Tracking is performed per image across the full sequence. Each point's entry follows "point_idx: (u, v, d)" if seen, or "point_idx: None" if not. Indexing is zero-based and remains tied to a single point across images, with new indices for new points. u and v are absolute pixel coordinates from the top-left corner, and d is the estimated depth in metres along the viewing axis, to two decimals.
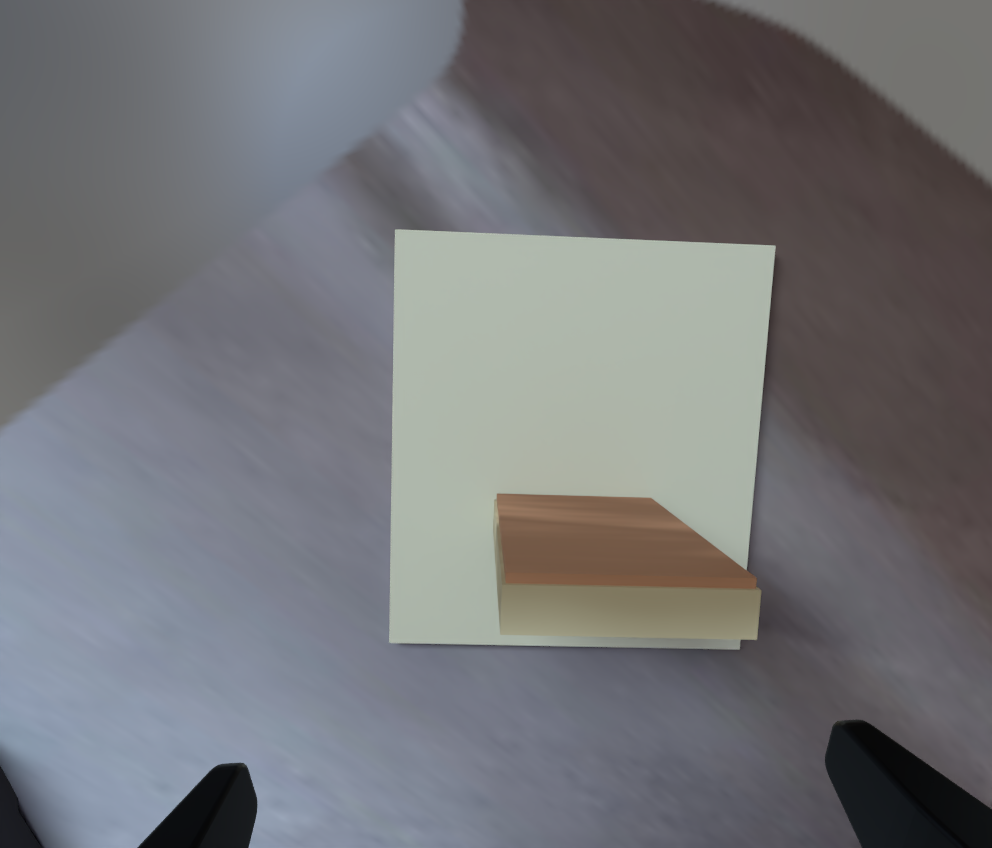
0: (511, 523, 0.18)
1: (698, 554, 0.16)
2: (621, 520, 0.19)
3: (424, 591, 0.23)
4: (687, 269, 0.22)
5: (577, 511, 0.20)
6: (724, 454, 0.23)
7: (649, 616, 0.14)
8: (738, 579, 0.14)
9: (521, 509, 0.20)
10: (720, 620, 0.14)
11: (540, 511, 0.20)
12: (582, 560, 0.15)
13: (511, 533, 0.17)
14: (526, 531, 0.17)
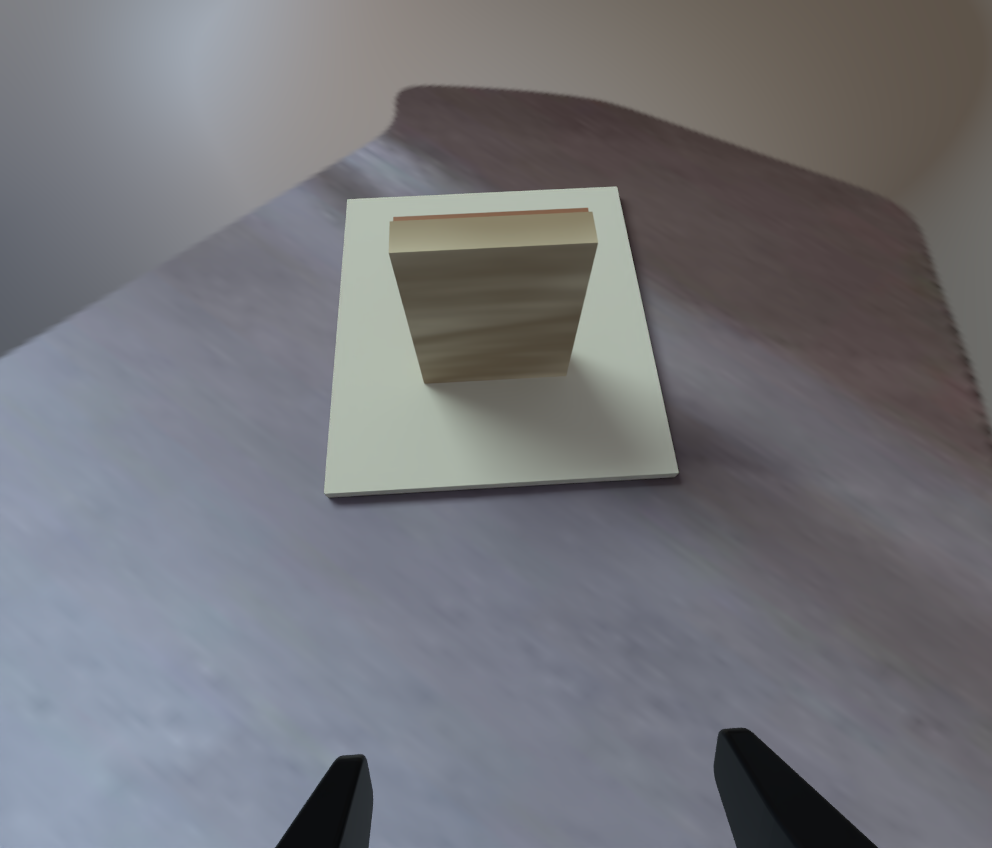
0: None
1: None
2: None
3: (360, 441, 0.24)
4: (557, 203, 0.30)
5: None
6: (616, 311, 0.27)
7: (507, 233, 0.17)
8: (574, 210, 0.18)
9: None
10: (565, 232, 0.17)
11: None
12: None
13: None
14: None
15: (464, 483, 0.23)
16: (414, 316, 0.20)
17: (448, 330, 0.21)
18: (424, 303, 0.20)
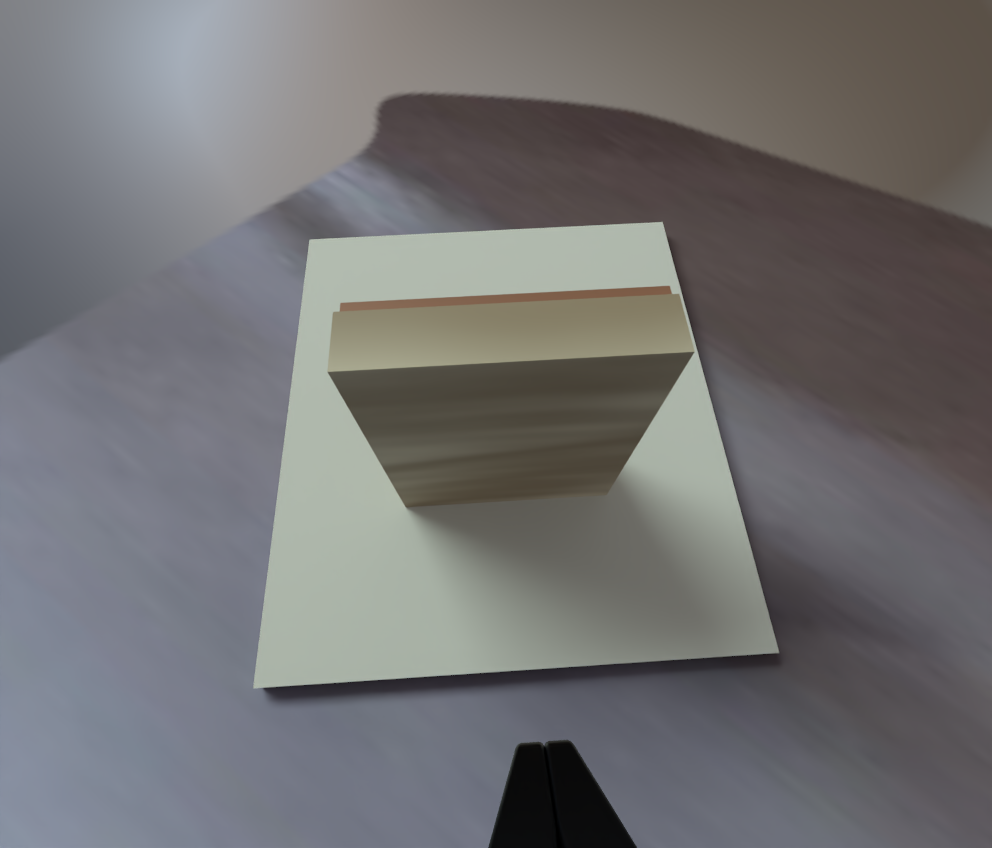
0: None
1: None
2: None
3: (311, 599, 0.17)
4: (585, 244, 0.23)
5: None
6: (671, 396, 0.20)
7: (535, 333, 0.10)
8: (647, 290, 0.11)
9: None
10: (635, 331, 0.10)
11: None
12: None
13: None
14: None
15: (462, 671, 0.16)
16: (382, 444, 0.13)
17: (438, 458, 0.14)
18: (397, 429, 0.12)
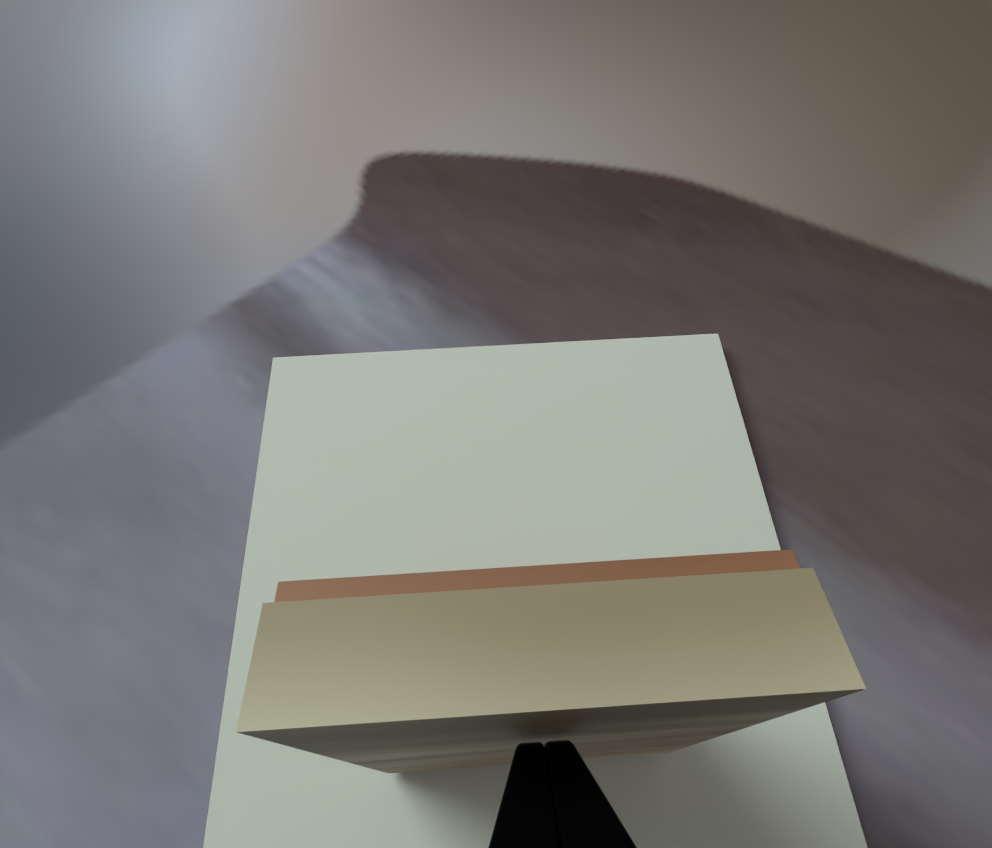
0: None
1: None
2: None
3: None
4: (621, 365, 0.18)
5: None
6: None
7: (590, 648, 0.06)
8: (757, 556, 0.07)
9: None
10: (756, 644, 0.06)
11: None
12: None
13: None
14: None
15: None
16: (345, 755, 0.08)
17: (432, 755, 0.09)
18: (367, 748, 0.08)
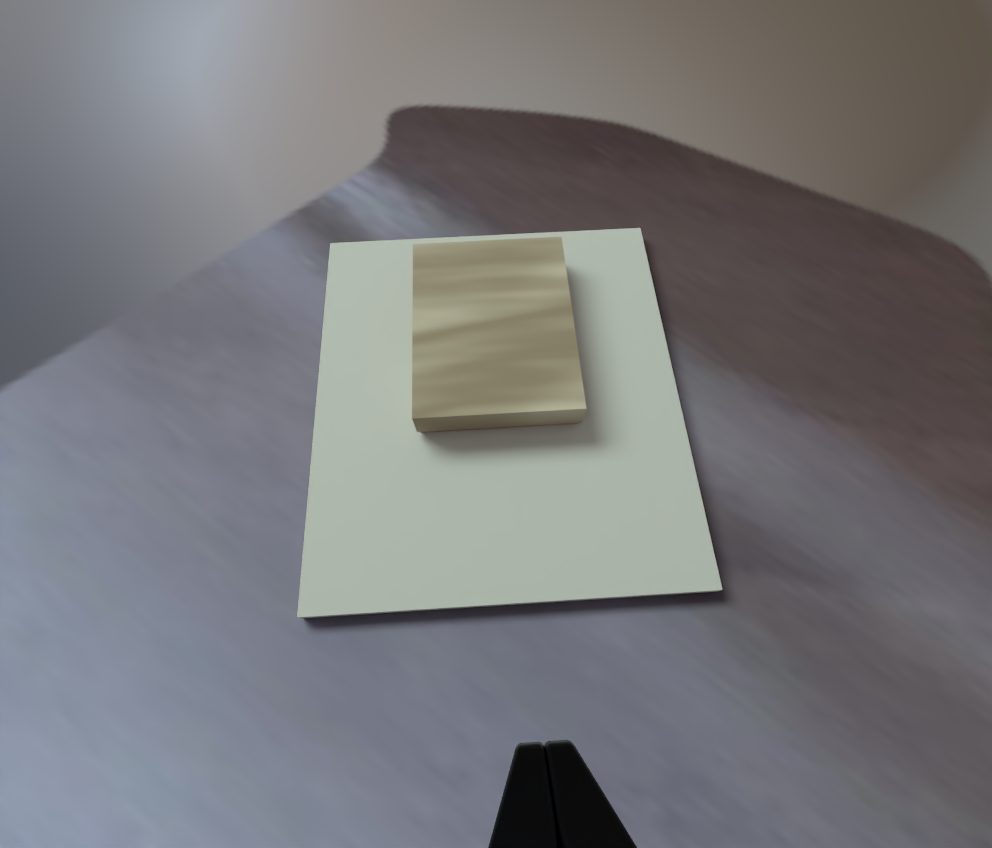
0: None
1: None
2: None
3: (342, 548, 0.20)
4: (572, 248, 0.26)
5: None
6: (642, 382, 0.23)
7: None
8: None
9: None
10: None
11: None
12: None
13: None
14: None
15: (465, 603, 0.19)
16: (419, 305, 0.23)
17: (449, 324, 0.22)
18: (431, 290, 0.23)
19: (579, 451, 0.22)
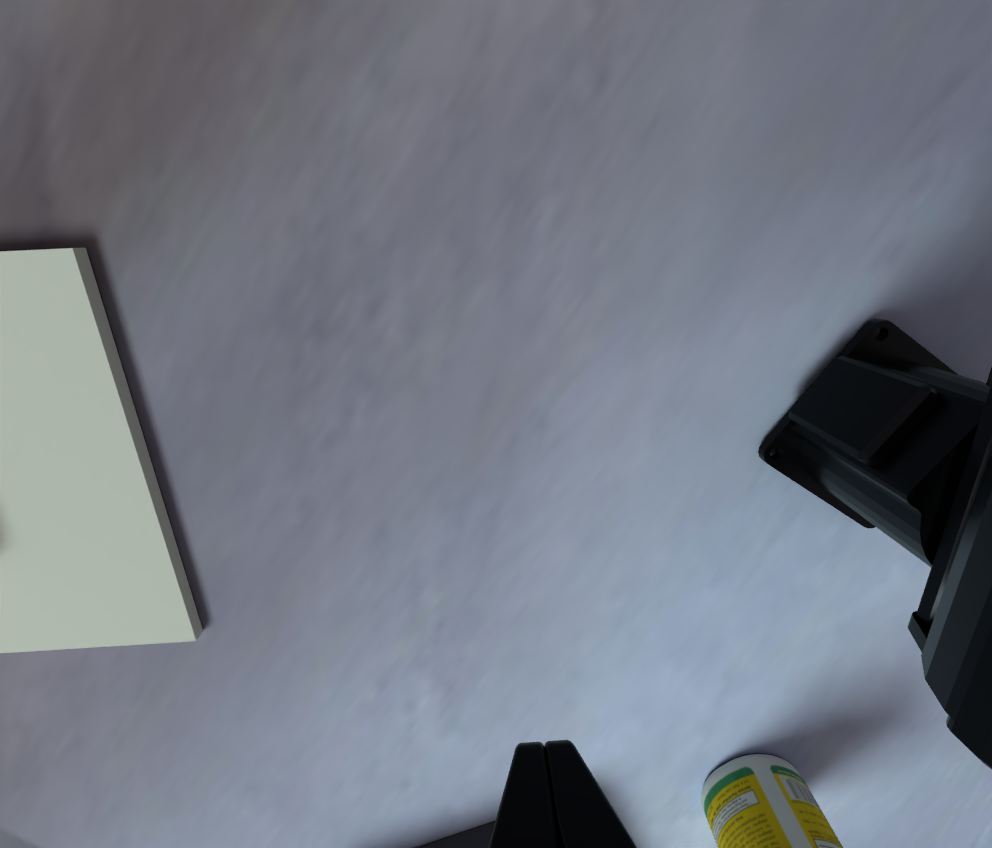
0: None
1: None
2: None
3: (128, 615, 0.22)
4: None
5: None
6: None
7: None
8: None
9: None
10: None
11: None
12: None
13: None
14: None
15: (153, 513, 0.20)
16: None
17: None
18: None
19: None
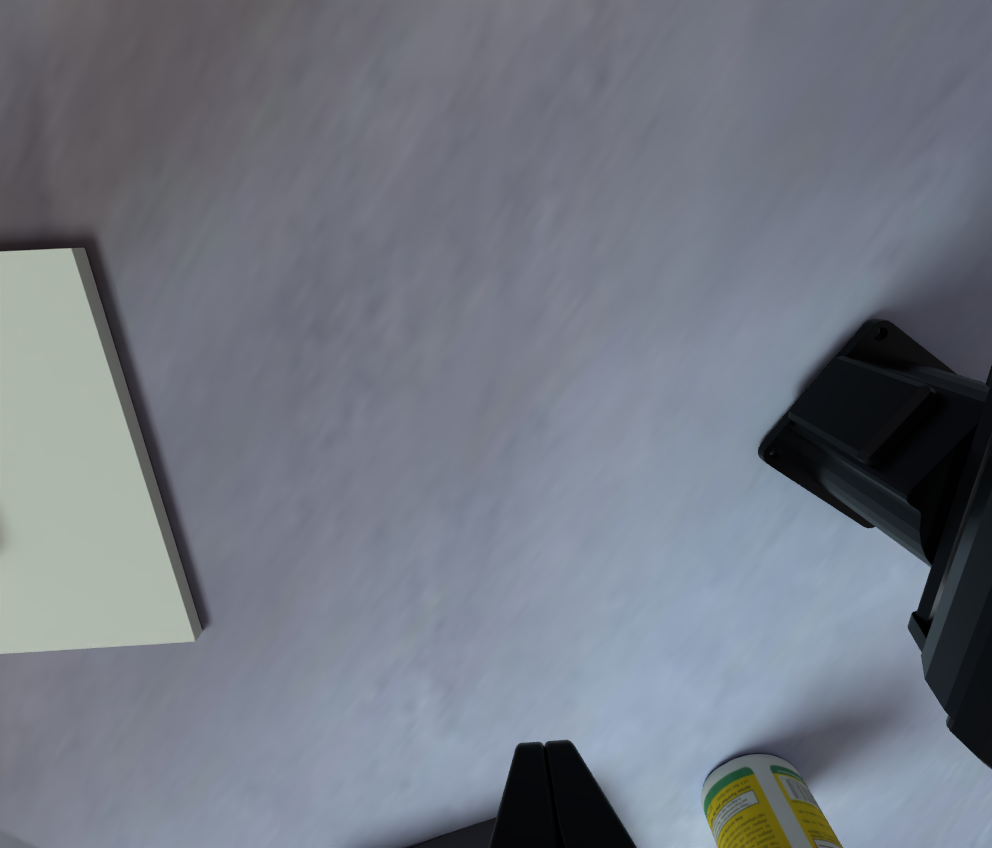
0: None
1: None
2: None
3: (127, 616, 0.22)
4: None
5: None
6: None
7: None
8: None
9: None
10: None
11: None
12: None
13: None
14: None
15: (152, 513, 0.20)
16: None
17: None
18: None
19: None
